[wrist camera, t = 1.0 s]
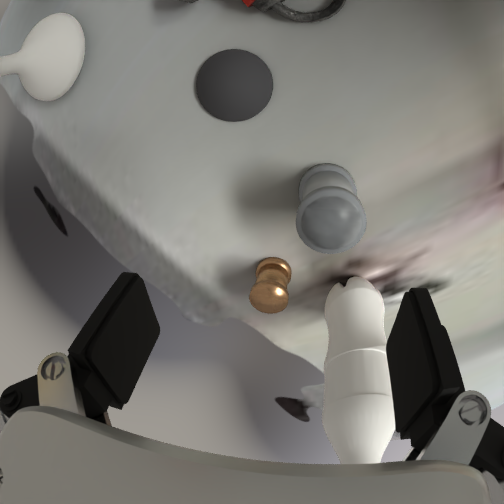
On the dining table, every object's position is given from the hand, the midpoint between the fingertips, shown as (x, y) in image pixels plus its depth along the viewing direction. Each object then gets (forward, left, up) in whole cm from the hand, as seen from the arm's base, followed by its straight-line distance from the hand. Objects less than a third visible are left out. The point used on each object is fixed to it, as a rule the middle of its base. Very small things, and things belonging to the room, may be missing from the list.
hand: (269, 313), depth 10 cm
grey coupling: (-2, +5, -21) cm, 22 cm away
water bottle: (-3, +19, -22) cm, 29 cm away
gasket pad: (+4, -8, -21) cm, 23 cm away
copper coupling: (+6, +14, -21) cm, 26 cm away
